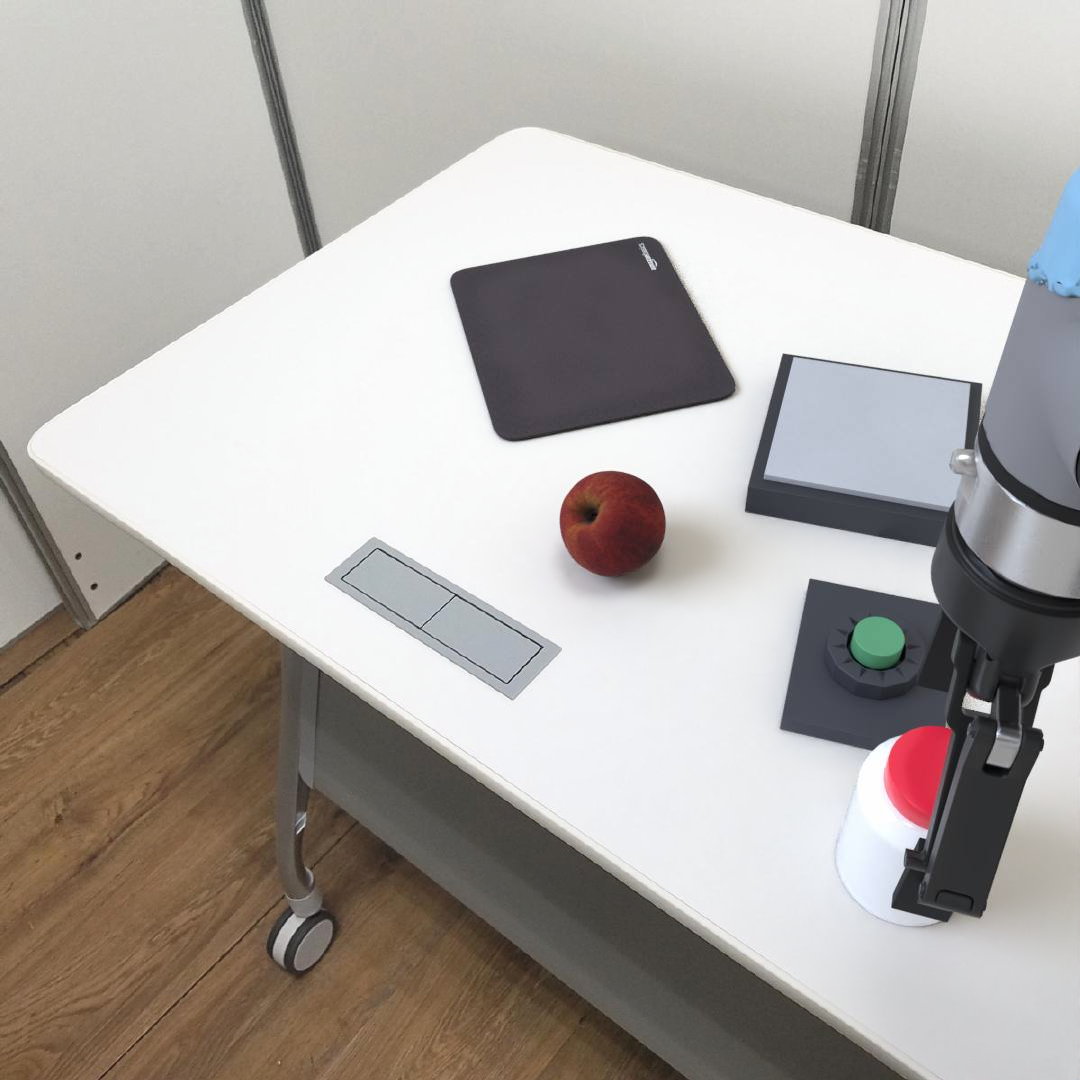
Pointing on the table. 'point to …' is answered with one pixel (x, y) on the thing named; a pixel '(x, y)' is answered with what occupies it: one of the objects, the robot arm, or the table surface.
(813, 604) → the button base
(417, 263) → the table surface
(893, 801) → the pill bottle
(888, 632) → the green button
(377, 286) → the table surface
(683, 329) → the mouse pad
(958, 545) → the robot arm
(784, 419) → the scale
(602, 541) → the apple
